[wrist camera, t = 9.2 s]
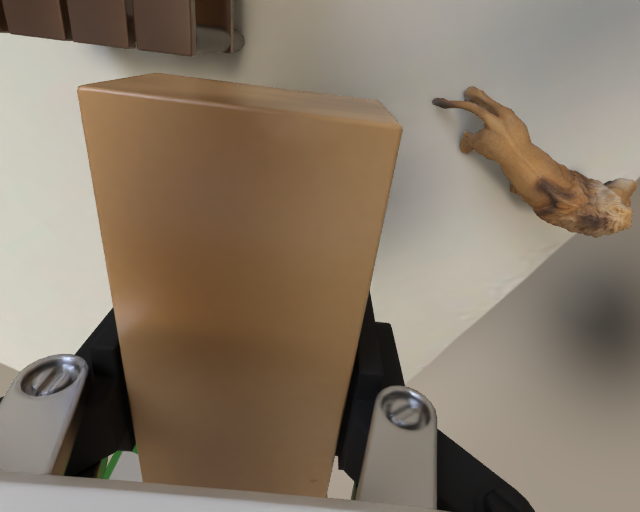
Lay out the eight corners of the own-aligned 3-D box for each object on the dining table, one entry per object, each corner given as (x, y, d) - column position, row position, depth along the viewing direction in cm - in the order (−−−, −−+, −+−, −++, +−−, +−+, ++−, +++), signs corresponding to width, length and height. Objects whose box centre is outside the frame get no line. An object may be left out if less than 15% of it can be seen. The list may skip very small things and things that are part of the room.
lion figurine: (590, 164, 33) (674, 201, 25) (544, 215, 35) (607, 264, 27) (451, 68, 30) (496, 77, 22) (409, 131, 32) (437, 160, 24)
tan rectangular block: (371, 91, 10) (404, 125, 6) (314, 438, 16) (310, 574, 12) (182, 67, 9) (73, 85, 5) (199, 428, 16) (154, 563, 12)
